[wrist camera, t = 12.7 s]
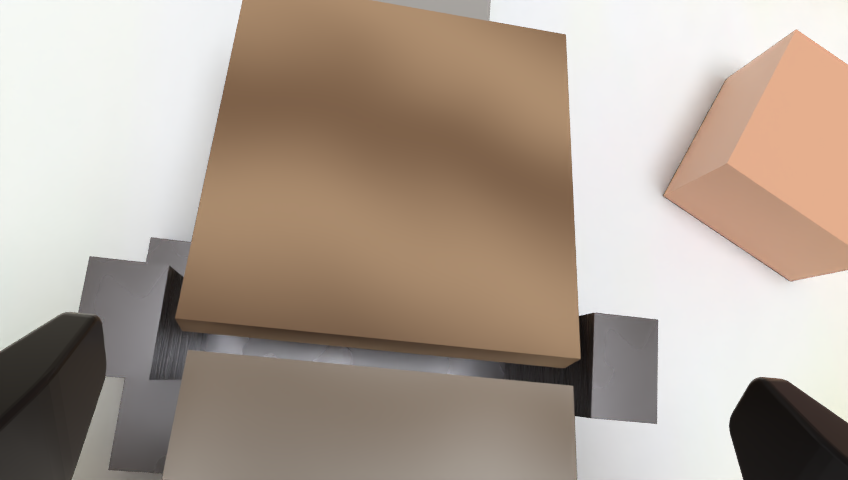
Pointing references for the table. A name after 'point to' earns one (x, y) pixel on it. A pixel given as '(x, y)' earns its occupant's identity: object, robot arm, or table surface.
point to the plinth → (776, 161)
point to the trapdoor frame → (319, 355)
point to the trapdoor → (382, 249)
